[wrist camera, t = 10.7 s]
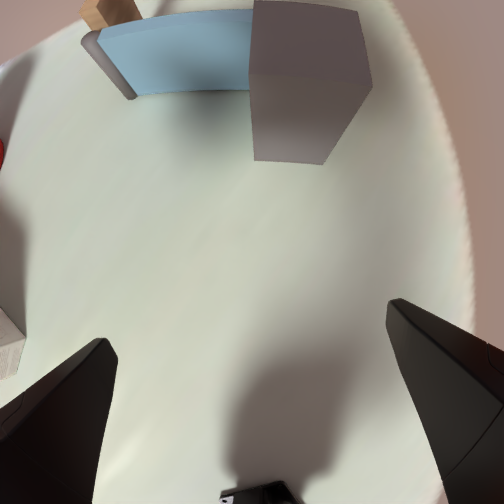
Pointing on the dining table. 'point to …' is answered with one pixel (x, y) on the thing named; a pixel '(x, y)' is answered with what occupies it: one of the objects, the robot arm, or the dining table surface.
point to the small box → (9, 346)
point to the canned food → (1, 153)
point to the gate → (176, 52)
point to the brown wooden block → (109, 13)
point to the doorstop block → (304, 79)
